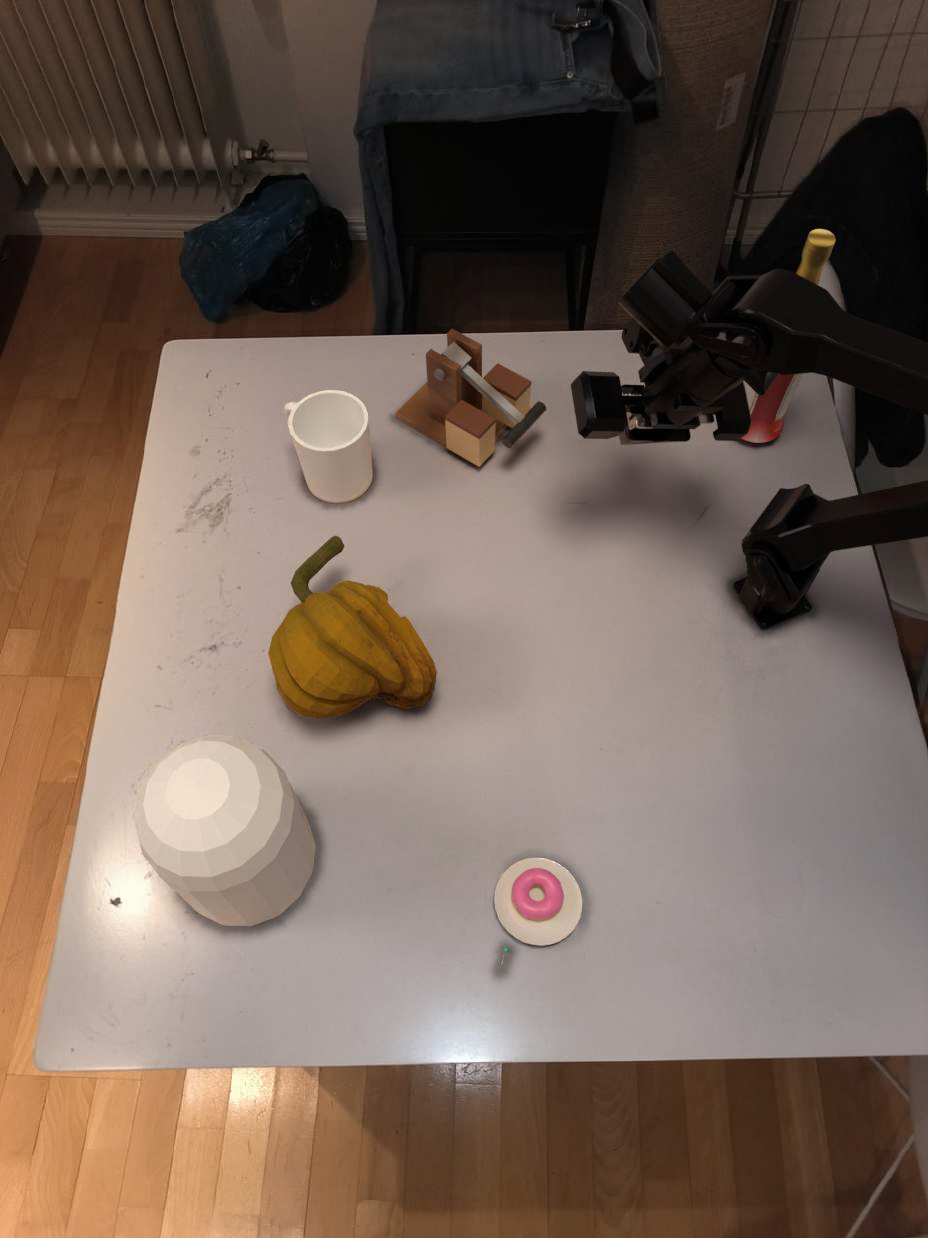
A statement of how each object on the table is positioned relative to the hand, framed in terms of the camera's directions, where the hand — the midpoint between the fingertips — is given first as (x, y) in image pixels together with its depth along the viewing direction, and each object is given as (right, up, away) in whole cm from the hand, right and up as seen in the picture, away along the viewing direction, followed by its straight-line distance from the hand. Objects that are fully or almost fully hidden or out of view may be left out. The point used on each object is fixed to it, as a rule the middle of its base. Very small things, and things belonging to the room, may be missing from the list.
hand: (622, 440), depth 104 cm
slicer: (-18, +6, +17) cm, 26 cm away
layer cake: (-14, +4, +15) cm, 21 cm away
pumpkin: (-29, -25, 0) cm, 38 cm away
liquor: (+19, +4, +16) cm, 25 cm away
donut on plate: (-11, -47, -13) cm, 50 cm away
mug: (-33, -2, +13) cm, 35 cm away
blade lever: (-15, +7, +10) cm, 19 cm away
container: (-38, -42, -10) cm, 58 cm away
